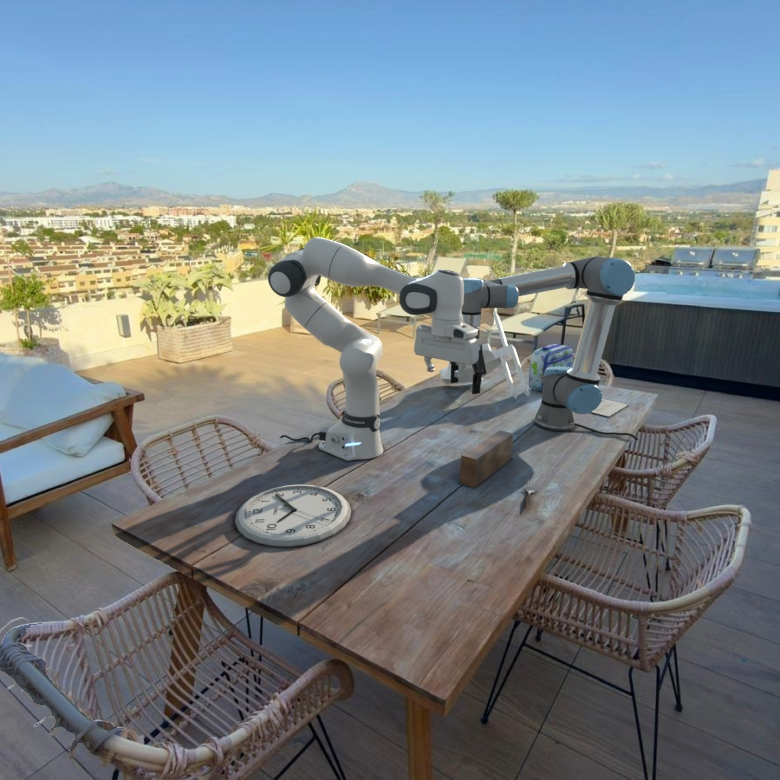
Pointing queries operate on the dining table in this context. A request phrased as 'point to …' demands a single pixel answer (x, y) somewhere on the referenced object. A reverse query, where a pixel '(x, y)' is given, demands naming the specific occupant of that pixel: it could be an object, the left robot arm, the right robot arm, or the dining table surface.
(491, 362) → the white plastic object
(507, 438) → the bar
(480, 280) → the right robot arm
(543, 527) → the dining table surface
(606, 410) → the invitation card
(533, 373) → the lunch box
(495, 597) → the dining table surface
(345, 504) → the wall clock
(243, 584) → the dining table surface
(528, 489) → the fork
